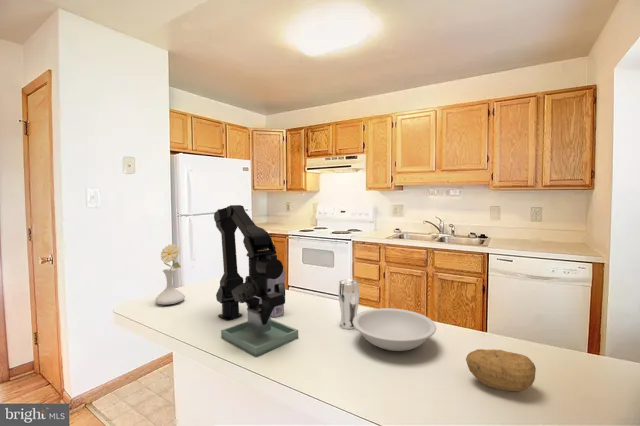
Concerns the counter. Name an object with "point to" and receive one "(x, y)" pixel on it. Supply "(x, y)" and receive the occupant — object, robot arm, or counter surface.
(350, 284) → the beer glass
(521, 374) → the potato
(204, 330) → the counter surface
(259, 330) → the capped grey block
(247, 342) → the tray
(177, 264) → the flower in vase
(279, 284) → the cake pan box
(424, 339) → the soup bowl
